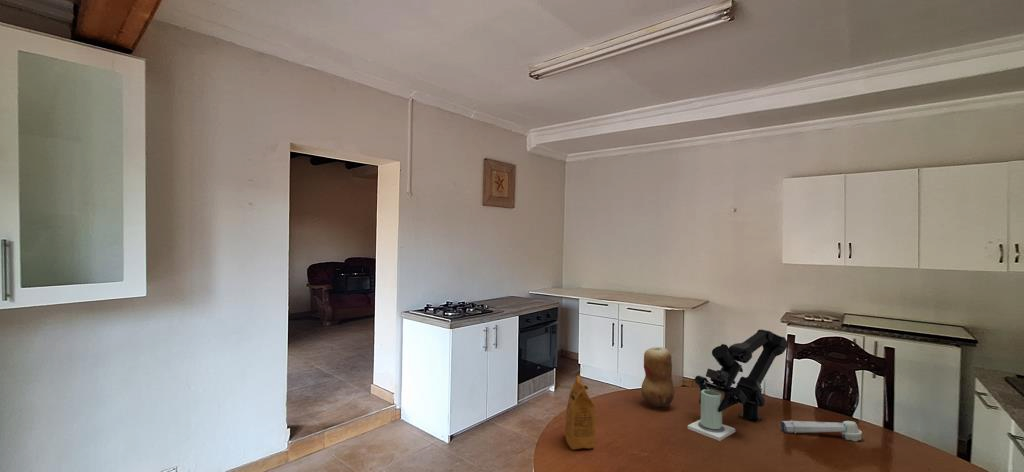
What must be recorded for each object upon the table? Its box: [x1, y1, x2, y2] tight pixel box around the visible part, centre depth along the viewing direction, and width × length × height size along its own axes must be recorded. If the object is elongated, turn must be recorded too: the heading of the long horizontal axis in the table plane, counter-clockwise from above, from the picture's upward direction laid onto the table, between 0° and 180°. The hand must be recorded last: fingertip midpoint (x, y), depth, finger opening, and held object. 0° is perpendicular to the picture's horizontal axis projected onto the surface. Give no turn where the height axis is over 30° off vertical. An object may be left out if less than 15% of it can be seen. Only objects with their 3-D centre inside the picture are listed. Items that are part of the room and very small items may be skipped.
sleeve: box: [700, 389, 723, 429], centre depth 155 cm, size 7×7×12 cm
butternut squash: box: [640, 346, 676, 408], centre depth 177 cm, size 14×13×25 cm
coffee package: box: [564, 375, 597, 450], centre depth 144 cm, size 10×12×22 cm
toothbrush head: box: [780, 419, 863, 442], centre depth 152 cm, size 5×7×25 cm
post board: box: [687, 418, 736, 442], centre depth 155 cm, size 12×12×5 cm
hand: (709, 407), depth 154 cm, fingers open, 7 cm apart
